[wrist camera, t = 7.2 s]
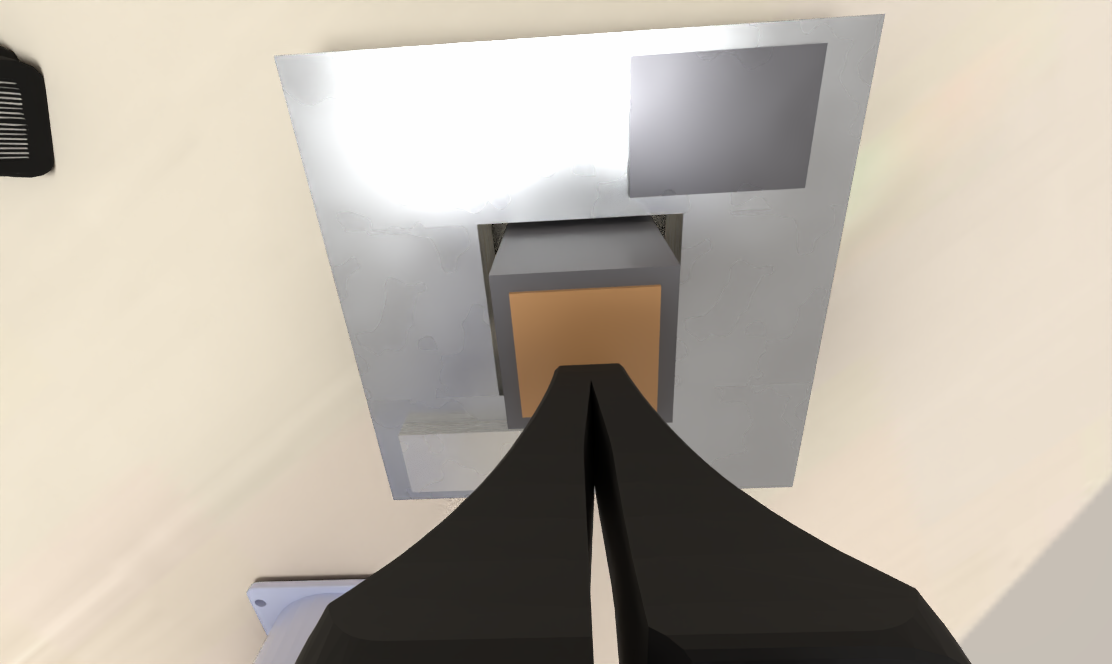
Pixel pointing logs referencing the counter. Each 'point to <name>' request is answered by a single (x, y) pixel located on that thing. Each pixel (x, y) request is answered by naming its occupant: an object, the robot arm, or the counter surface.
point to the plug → (584, 306)
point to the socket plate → (586, 216)
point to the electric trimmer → (23, 120)
